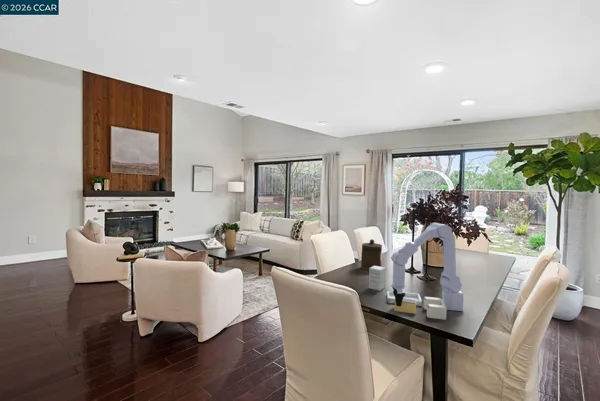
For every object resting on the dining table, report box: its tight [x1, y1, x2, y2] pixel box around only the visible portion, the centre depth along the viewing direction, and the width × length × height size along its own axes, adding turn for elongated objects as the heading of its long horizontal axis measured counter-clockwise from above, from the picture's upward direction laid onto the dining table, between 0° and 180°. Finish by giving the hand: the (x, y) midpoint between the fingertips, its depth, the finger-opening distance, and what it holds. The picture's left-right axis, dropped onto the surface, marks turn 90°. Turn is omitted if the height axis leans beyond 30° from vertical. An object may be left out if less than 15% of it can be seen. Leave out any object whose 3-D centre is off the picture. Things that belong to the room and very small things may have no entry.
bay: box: [422, 296, 448, 321], centre depth 147 cm, size 8×13×6 cm, turn 166°
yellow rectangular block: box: [393, 298, 417, 315], centre depth 150 cm, size 10×5×5 cm, turn 70°
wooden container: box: [360, 238, 383, 271], centre depth 227 cm, size 15×15×22 cm
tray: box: [386, 290, 423, 307], centre depth 163 cm, size 17×12×2 cm
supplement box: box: [368, 266, 386, 292], centre depth 182 cm, size 7×7×13 cm
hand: (398, 303), depth 151 cm, fingers open, 7 cm apart
